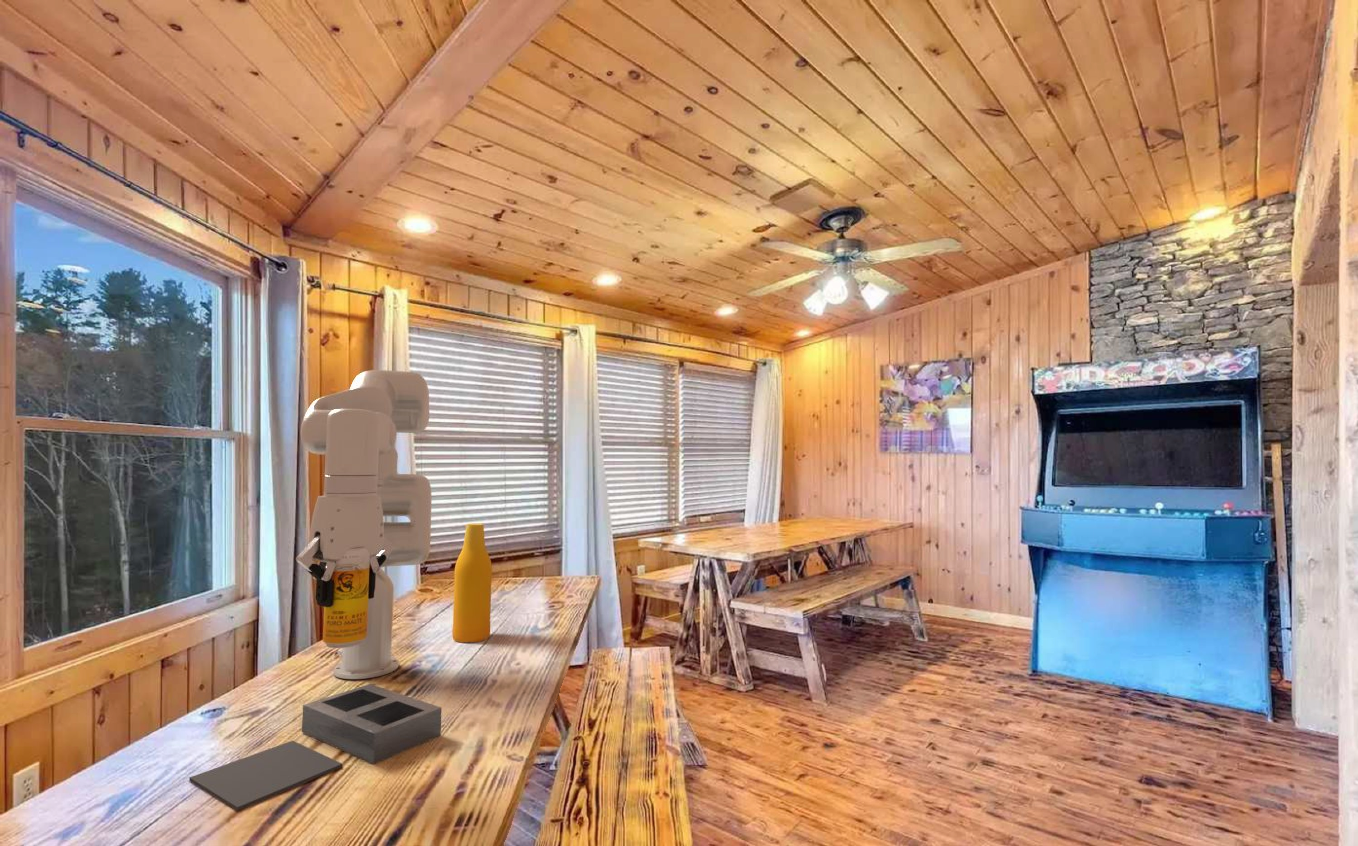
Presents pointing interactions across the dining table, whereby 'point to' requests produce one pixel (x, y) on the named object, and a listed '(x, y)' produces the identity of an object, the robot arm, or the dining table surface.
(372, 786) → the dining table surface
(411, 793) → the dining table surface
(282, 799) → the dining table surface
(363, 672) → the robot arm
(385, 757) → the cinder block
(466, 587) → the beer bottle
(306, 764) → the mat
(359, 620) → the beer can
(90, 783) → the dining table surface
